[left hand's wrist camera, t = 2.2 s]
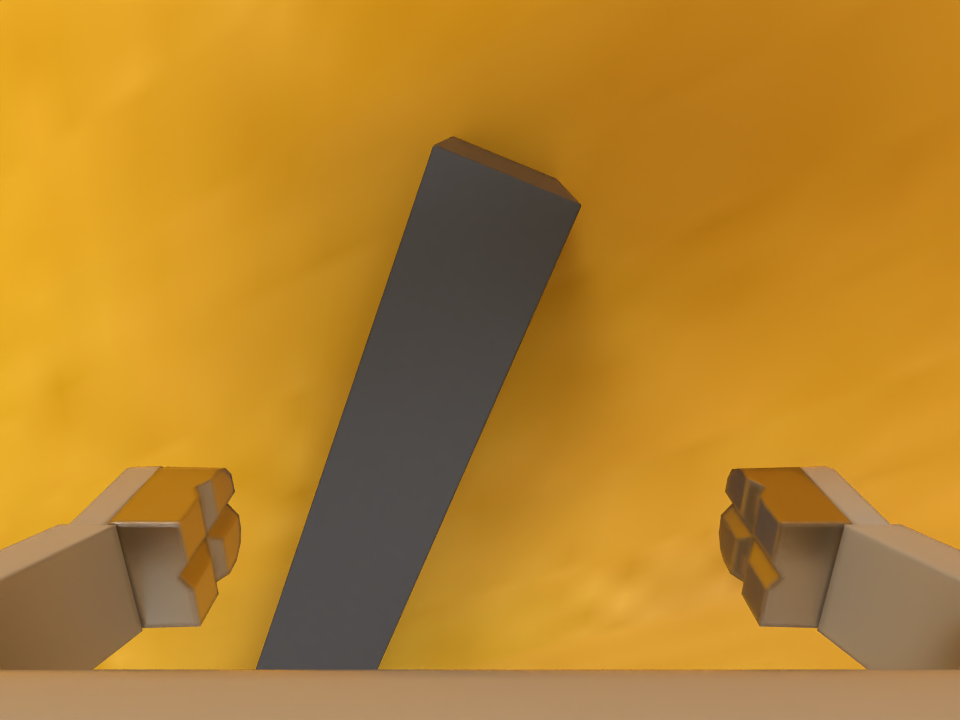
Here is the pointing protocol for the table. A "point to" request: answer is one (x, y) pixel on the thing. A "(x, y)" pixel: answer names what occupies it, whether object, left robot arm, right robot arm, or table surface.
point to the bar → (418, 401)
